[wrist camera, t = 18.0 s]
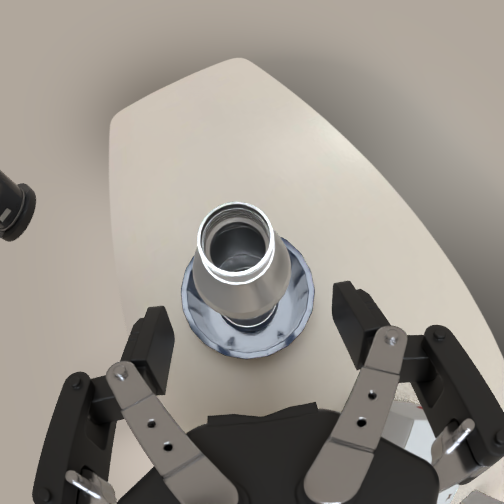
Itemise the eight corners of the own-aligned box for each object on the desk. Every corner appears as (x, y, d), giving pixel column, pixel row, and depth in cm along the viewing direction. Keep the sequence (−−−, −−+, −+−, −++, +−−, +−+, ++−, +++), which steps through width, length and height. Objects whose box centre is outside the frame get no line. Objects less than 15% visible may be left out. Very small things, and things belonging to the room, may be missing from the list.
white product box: (412, 400, 28) (489, 418, 13) (389, 462, 25) (451, 506, 11) (351, 391, 29) (415, 417, 14) (327, 457, 26) (369, 517, 12)
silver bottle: (220, 333, 31) (163, 312, 12) (220, 275, 33) (173, 179, 14) (278, 331, 31) (312, 308, 12) (275, 273, 33) (297, 173, 14)
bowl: (178, 323, 32) (158, 316, 25) (228, 235, 35) (221, 209, 29) (272, 373, 30) (276, 381, 23) (319, 279, 33) (334, 262, 27)
